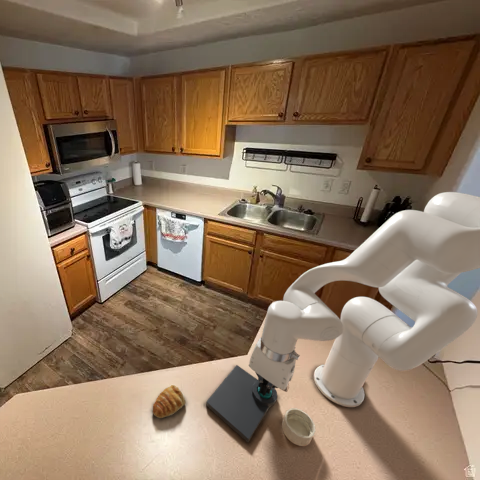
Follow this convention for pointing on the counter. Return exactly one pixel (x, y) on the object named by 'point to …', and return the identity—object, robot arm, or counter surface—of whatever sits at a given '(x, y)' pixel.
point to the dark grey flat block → (240, 402)
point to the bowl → (298, 427)
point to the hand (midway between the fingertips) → (263, 390)
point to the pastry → (168, 402)
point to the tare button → (265, 394)
